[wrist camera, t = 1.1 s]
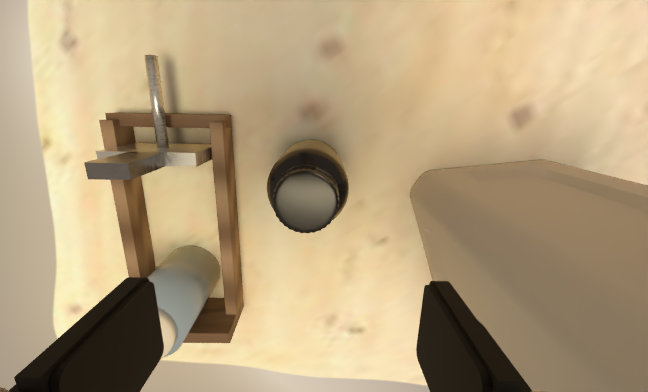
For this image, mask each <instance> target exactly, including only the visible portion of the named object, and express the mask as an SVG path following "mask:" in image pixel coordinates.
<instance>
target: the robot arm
mask: <svg viewBox="0 0 648 392" xmlns="http://www.w3.org/2000/svg"><path fill="white" fill-rule="evenodd" d="M416 350H417V358H418V361H419V364H420V366H421V369H422V372H423V374H424V377H425V379H426V382H427V385H428V387H429V390H430V392H546V391H532V390H531V388H530V387H529V386H528V384H527V383H526V382H525V380H524V379H523V378H522V376H521V375H520V374H519V372H518V371H517V370H516V368H515V367H514V366H513V364H512V363H511V362H510V360H509V359H508V358H507V356H506V355H505V353H504V352H503V351H502V349H501V348H500V347H499V345H498V344H497V343H496V341H495V340H494V339H493V337H492V336H491V335H490V333H489V332H488V331H487V329H486V328H485V327H484V325H483V324H482V323H481V322H479V321H478V320H477V319H476V317H475V316H474V315H473V313H472V312H471V310H470V309H469V308H468V306H467V305H466V304H465V302H464V301H463V300H462V298H461V297H460V296H459V294H458V293H457V291H456V290H455V289H454V287H453V286H452V285H451V283H450V282H449V281H431V282H430V284H429V285H426V286H425V288H424V294H423V302H422V310H421V317H420V325H419V333H418V340H417V349H416ZM163 351H164V343H163V337H162V330H161V324H160V318H159V311H158V305H157V299H156V293H155V286H154V283H153V282H150V281H149V279H148V278H146V277H129V278H127V279H125V280H124V281H123V282H122V283H121V284H120V285H118V286H117V287H116V288H115V289H114V290H113V291H112V292H110V293H109V294H108V295H107V296H106V297H105V298H104V299H103V300H101V301H100V302H99V303H98V304H97V305H96V306H95V307H93V308H92V309H91V310H90V311H89V312H88V313H87V314H85V315H84V316H83V317H82V318H81V319H80V320H79V321H78V322H76V323H75V324H74V325H73V326H72V327H71V328H70V329H68V330H67V331H66V332H65V333H64V334H63V335H62V336H61V337H59V338H58V339H57V340H56V341H55V342H54V343H53V344H51V345H50V346H49V348H47V349H46V350H45V351H44V352H42V353H41V354H40V355H39V356H38V357H37V358H36V359H35V360H33V361H32V362H31V363H30V364H29V365H28V366H27V367H26V368H24V369H23V370H22V371H21V372H20V373H19V374H17V375H16V376H15V381H16V385H15V386H14V387H13V388H11V389H10V390H9V391H8V390H6V389H5V388H0V392H140V390H141V389H142V387H143V386H144V384H145V382H146V381H147V379H148V378H149V376H150V375H151V373H152V371H153V370H154V368H155V367H156V365H157V363H158V362H159V360H160V359H161V357H162V355H163Z"/></svg>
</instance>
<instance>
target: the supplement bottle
mask: <svg viewBox="0 0 648 392" xmlns="http://www.w3.org/2000/svg"><path fill="white" fill-rule="evenodd" d="M348 192H349V186H348V179H347V175H346V172H345V170H344V167H343V165H342V162H341V160H340V158H339V156H338V154H337V153H336V152H335V150H334V149H333V148H331V147H330V146H329V145H327V144H326V143H324V142H321V141H317V140H304V141H300V142H297V143H295V144H294V145H292V146H291V147H290V148H288V149H287V150H286V151H285V153H284V154H283V155H282V156H281V157H280V158H279V160H278V161H277V162H276V163H275V165H274V166H273V168H272V170H271V172H270V174H269V177H268V182H267V193H268V198H269V201H270V204H271V206H272V208H273V209H274V211H275V212H276V216H277V217H278V218H279V220H280V222H282V223H283V224H284V226H287V227H288V228H289V229H292V230H294V231H295V232H300V233H304V232H305V233H310V232H316V231H319V230H321V229H322V228H325V227H326V226H327V225H328V224H330V223H331V221H332V220H333V219H334V218H336V217H337V216H338V215H339V213H340V212H341V211H342V209H343V208H344V206H345V204H346V201H347V198H348Z"/></svg>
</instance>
